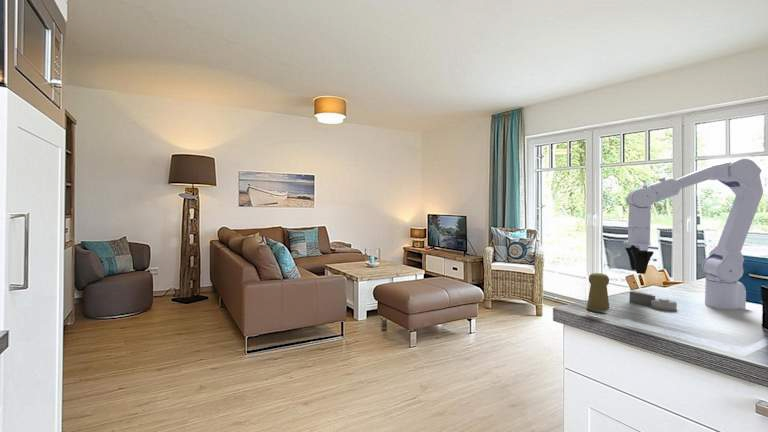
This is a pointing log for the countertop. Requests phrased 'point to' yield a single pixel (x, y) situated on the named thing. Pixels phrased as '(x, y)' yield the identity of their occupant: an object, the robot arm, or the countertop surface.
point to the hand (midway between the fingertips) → (638, 271)
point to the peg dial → (652, 301)
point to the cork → (598, 292)
